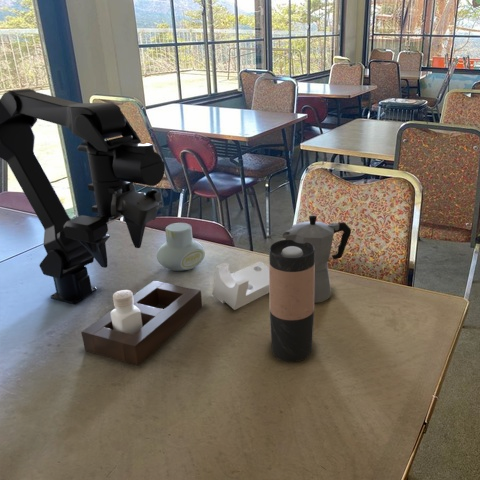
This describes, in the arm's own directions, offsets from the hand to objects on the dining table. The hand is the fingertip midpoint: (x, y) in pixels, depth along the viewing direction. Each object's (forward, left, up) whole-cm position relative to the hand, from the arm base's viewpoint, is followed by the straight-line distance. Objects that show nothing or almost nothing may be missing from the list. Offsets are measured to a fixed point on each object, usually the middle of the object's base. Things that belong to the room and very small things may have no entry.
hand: (121, 257), depth 91 cm
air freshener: (-2, +21, -12) cm, 24 cm away
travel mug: (+35, 0, -12) cm, 37 cm away
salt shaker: (+6, -8, -12) cm, 16 cm away
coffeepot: (+32, +21, -12) cm, 40 cm away
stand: (+7, -3, -12) cm, 14 cm away
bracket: (+19, +15, -12) cm, 27 cm away
